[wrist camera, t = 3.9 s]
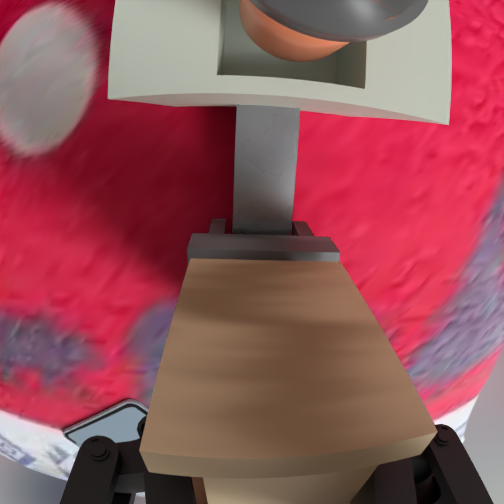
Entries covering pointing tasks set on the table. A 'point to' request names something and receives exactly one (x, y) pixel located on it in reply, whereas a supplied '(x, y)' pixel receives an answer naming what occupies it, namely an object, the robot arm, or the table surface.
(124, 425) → the smartphone
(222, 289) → the carriage
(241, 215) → the rail
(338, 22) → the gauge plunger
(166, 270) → the table surface
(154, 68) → the grey hollow block
